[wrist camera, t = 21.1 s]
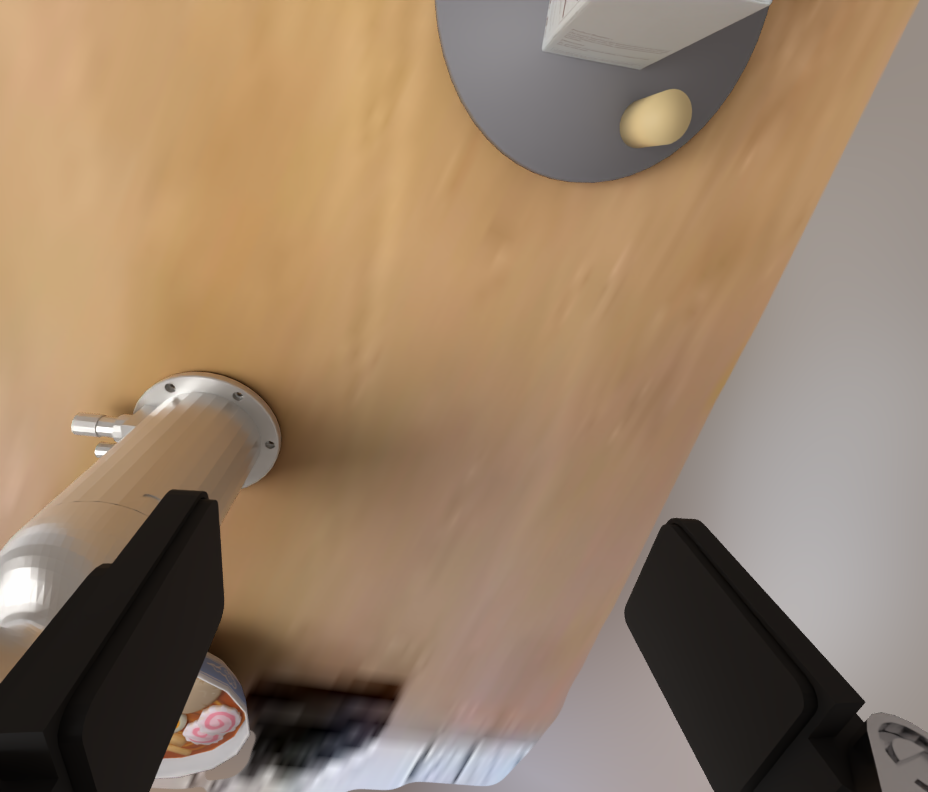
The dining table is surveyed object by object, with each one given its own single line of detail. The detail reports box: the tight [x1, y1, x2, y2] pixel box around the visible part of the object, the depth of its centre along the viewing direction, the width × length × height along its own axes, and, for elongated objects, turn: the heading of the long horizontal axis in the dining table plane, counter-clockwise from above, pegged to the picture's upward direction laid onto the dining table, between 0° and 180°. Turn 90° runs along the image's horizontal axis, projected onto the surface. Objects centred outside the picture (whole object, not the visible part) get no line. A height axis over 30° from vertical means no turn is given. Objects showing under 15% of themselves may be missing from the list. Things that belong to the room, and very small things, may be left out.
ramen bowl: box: [155, 652, 250, 779], centre depth 52 cm, size 25×23×8 cm
